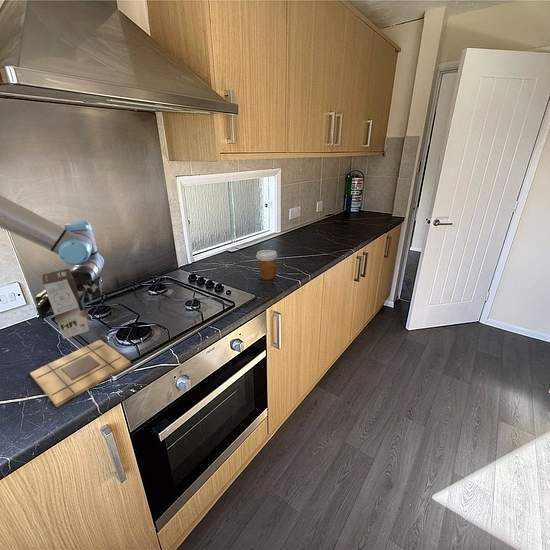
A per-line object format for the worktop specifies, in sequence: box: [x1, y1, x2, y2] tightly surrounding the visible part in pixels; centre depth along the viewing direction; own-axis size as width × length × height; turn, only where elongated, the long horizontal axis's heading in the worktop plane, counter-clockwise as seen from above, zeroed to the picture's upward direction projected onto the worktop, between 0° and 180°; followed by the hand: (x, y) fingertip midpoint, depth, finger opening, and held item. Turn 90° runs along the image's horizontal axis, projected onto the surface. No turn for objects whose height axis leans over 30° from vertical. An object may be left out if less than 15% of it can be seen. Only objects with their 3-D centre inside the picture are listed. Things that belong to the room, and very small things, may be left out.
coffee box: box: [41, 268, 90, 340], centre depth 79 cm, size 9×6×16 cm
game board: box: [29, 339, 132, 408], centre depth 79 cm, size 18×18×2 cm
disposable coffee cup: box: [255, 249, 279, 280], centre depth 131 cm, size 10×10×12 cm
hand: (60, 309), depth 75 cm, fingers closed on coffee box, 8 cm apart
